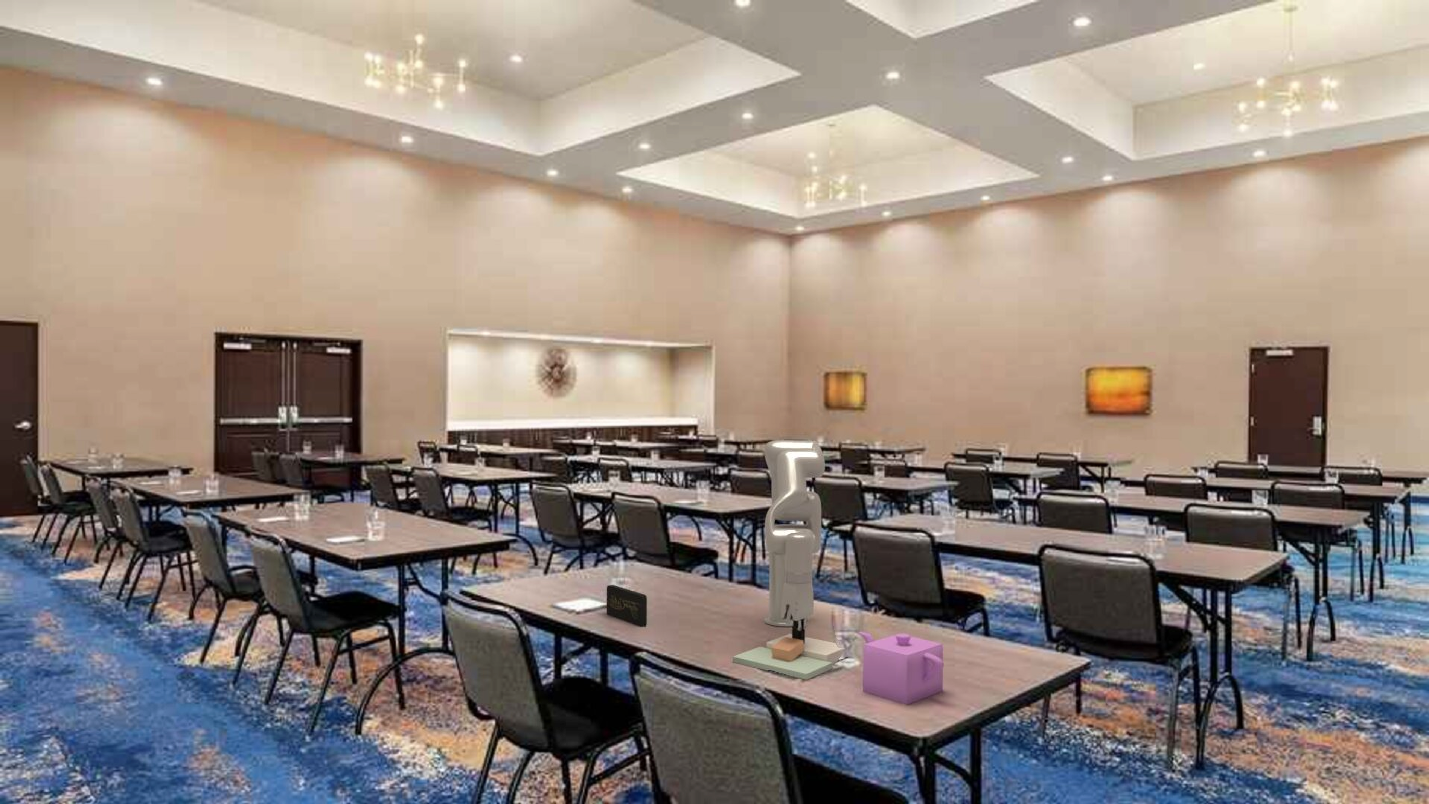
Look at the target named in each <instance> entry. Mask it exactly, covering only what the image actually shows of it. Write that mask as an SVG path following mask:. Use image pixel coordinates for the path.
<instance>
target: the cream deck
mask: <svg viewBox="0 0 1429 804" xmlns="http://www.w3.org/2000/svg"><path fill="white" fill-rule="evenodd" d="M784 637H789V638H792V633H788V634H785V635H784V636H780V637H777V638H775V639H773V640H770V641H767V642H766V645H765V646H766V647H765V648H768V649H771V647H772V646H773V645H775V644H776V643H777V642H779V641H780V640H781V639H783V638H784ZM844 649H845V648H838V647H837V645H836V642H831V641H827V640H823V639H822V640H821V639H816V638H813V637H812V638H811V637H807V636H805V644H804V651H803V652H802V653H801V654H800V656H804V657H809V658H813V659H818V660H822V661H827V662H831V663H832V665H833V664H837V663H838V662H839V661H838V660H839V658H840V657H841V655H842V654H843V652H844ZM837 661H838V662H837Z"/></svg>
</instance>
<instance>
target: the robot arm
mask: <svg viewBox="0 0 1429 804" xmlns="http://www.w3.org/2000/svg"><path fill="white" fill-rule="evenodd" d="M824 456H825V455H824V453H823V451H822V448H821V445H820V444H819V443H818V442H817V441H816V440H803V439H802V440H797V439H794V440H792V439H789V440H787V439H786V440H785V439H781V440H778V439H777V440H772V441H769V442H767V443H766V444H765V447H764V459H765V463H766V466H767V468H768V470H769V472H770V477H771V506H770V507H769V509H768V510H767V512H766V515H765V521H764V530H765V531H764V534H765V535H764V537H765V538H764V539H765V546H766V550H767V553H768V560H769V561H768V562H769V564H768V565H769V566H768V567H769V574H768V575H769V577H768V578H769V580H768V581H769V582H768V583H769V589H768V590H769V592H768V594H769V596H768V598H769V601H768V602H769V604H768V605H769V606H768V607H769V610H768V612H769V615H766V616H765V617H764V621H763V622H765V624H767V625H770V626H775V627H790V629H791V634H792V638H794V639H799V640H803V643H804V644H805V637H806V629H807V622H808V621H809V620H810V619H811V616H812V615H813V614H814V610H815V609H814V607H815V606H814V605H815V603H814V601H815V600H814V588H813V555H814V554H817V553H819V552H820V550H821V547H822V503H821V499H820V496H819V494H818V493H816V492H814V491H811V490H810V491H808V489H807V479H806V478H810V479H812V478H815V479H819V478H821V477H823V475H824V473H825V469H826V463H825V457H824ZM776 520H777V521H783V522H784V521H788V522H789V521H790V522H791V521H792V522H795V521H796V522H799V521H800V522H801V521H802V522H803V521H804V522H806V524H794V523H792V524H791V523H789V524H785V523H783V524H775V521H776Z"/></svg>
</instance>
